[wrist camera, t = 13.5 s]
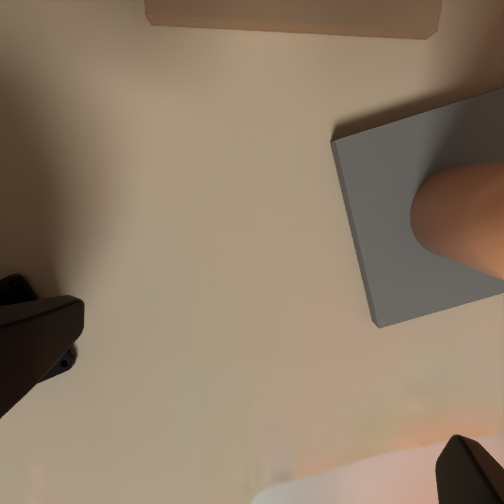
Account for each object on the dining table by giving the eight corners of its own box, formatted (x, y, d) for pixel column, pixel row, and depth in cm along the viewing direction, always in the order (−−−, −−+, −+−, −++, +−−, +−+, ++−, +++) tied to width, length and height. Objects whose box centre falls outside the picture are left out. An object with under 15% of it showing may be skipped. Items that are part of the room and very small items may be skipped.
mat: (372, 321, 20) (379, 328, 19) (330, 142, 17) (335, 140, 16) (548, 270, 19) (565, 275, 18) (530, 79, 17) (548, 73, 16)
